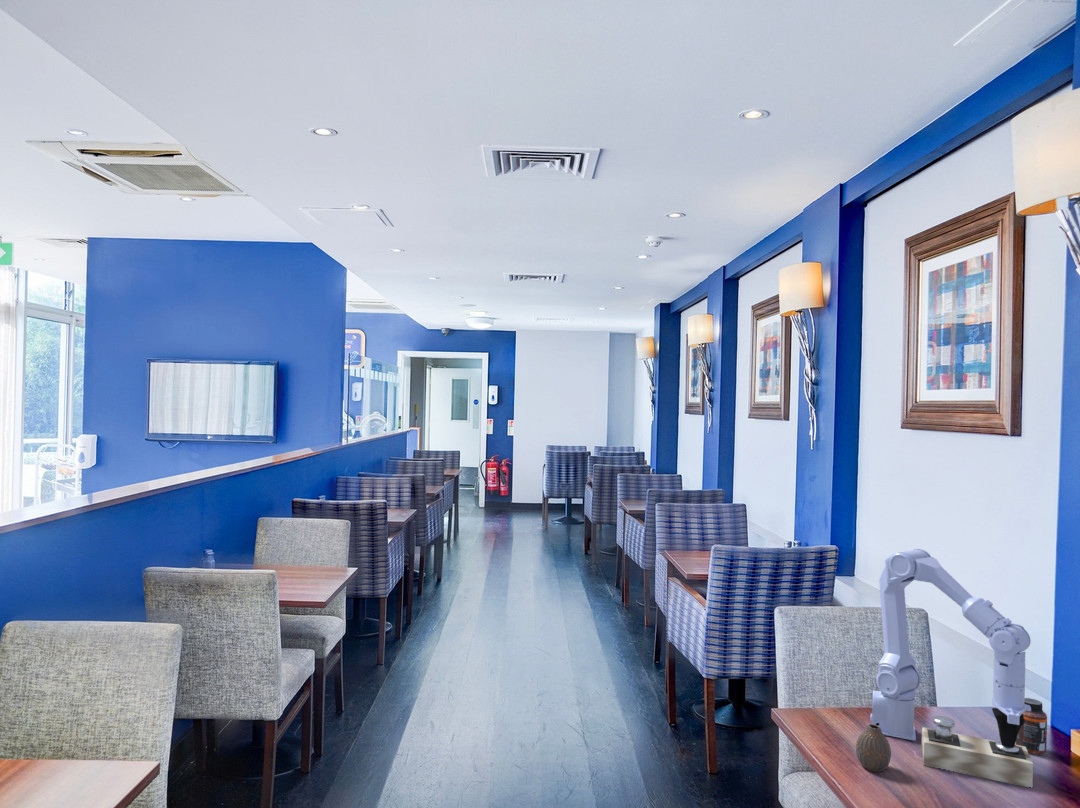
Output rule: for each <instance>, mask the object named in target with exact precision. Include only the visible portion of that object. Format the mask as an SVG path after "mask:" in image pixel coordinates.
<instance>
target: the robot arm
mask: <svg viewBox="0 0 1080 808" xmlns="http://www.w3.org/2000/svg"><path fill="white" fill-rule="evenodd" d="M884 563H885V565H884V568H883V570H882V572H881V574H880V577H879V580H878V583H879V595H880V596H879V598H880V609H881V622H882V634H883V635H882V637H883V648H884V649H883V650H884V654H883V655H882V657H881V659H880V660H879V662H878V671H877V674H876V679H875V680H876V685H877V688H878V690H872V708H871V709H872V710H871V713H870V718H869V720H870V722H871V724H874V725H877V726H879V727H880V728H881V731H882V733H883V734H884V736H888V737H893V738H897V739H903V740H909V741H915V742H916V741H917V736H916V735H917V734H916V727H915V697H916V690H917V689H918V688H920V685H921V674H920V673H919V670H918V669H917V666H916V660H915V658H913V656H912V655H911V653H910V647H909V646H910V644H909V634H908V633H909V632H908V619H907V617H908V616H907V607H906V606H907V605H906V594H905V591H906V590H905V588H906V587H907V586H908V585H910V584H912V582H914V581H917V582H925V583H931V584H932V585H933V586H935V587H936V588H937V589H938V590H940V591H941V592H942V593H943V594H945V595H946V596H947V597H948V598H949V599H951V600H952V601H953V602H955V604H957V605H959V606H960V608H961V610H962V616H963V617H964V618H965V619H966V620H968V622H970V624H972V625H973V626H974V627H975V628H976V629H977V630H978V631H980V633H982V634H983V635H984V636H985V637H986V638H988V642H989V645H990V647H991V648H992V650H993V652H994V654H993V680H992V681H993V682H992V683H993V686H992V688H993V689H992V699H991V705H993V706H994V707H993V708H991V710H992V714H993V716H994V718H995V719H996V723H997V729H998V734H999V739H1000V740H999V741H1001V744H1002V746H1005V747H1011V748H1014V745H1016V738H1017V735H1018V732H1019V730H1020V728H1021V726H1022V725H1023V724H1024V722H1025V719H1024V717H1023V712H1024V711H1031V707H1030V706H1029V705H1026V704H1024V699H1025V698H1026V697H1025V695H1026V694H1025V691H1026V650H1027V649H1028V648H1029V647H1030V646H1031V643H1032V642H1031V641H1032V640H1031V636H1030V634H1029V632H1028V631H1027V630H1026V629H1025V628H1024V626H1023V625H1021V624H1018V623H1012V620H1011V619H1010V618H1008V617H1007V618H1006V617H1005V616H1003V614H1001V612H999V611H998V610H996V609H995V608H994V606H993V603H992V601H990V600H989V599H988V600H985V599H984V598H983V597H974V596H973V595H972V594H971V593H969V592H968V591H967V590H966V589H965V588H964V586H963V585H961V584H960V583H959V582H958V581H957V580H956V579H955V578H954V577H953V576H952V575H951V574H950V573H949V572H948V571H947V570H946V569H945V568H944V567H943V566H942V565H941V563H940V562H939V560H938V559H937V558H936V557H933V556H931V554H930V553H929V552H928V551H926V550H924V549H921V548H916V549H915V548H914V549H912V550H905V551H896V552H893V553H892V554H891V555H889V556H888V557H887V558H886V559H885V560H884Z"/></svg>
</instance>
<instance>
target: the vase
mask: <svg viewBox="0 0 1080 808" xmlns="http://www.w3.org/2000/svg"><path fill="white" fill-rule="evenodd" d="M855 744H856V745H855V753H856V757H857V760H858V761H859V763H860V765H861V766H862V767H863V766H864V767H863V768H865V769H866V768H867V770H868V769H869V770H868V771H871V770H872V772H883V771H884V770H886V769H887V768H888V767H889V764H890V763H891V759H892V750H891V745H890V743H889V740H888V738H887V737H886V735H884V734H883V733H882V731H881V728H880V727H879V726H877V725H874V724H872V723H871V724H868V725H867V726H866V728H865V729H864V730H863V731H862V732H861V733H860V734H859V735H858V737H857V740H856V743H855Z"/></svg>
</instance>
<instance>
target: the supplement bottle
mask: <svg viewBox="0 0 1080 808" xmlns="http://www.w3.org/2000/svg"><path fill="white" fill-rule="evenodd" d="M1024 704H1026V705H1029V706H1030V707H1031V711H1024V712H1023V717H1024V719H1025V722H1024V724H1023V725H1022V726H1021V728H1020V730H1019V732H1018V735H1017V738H1016V742H1015V745H1019V746H1025V747H1026V749H1027V751H1028V753H1029V754H1030V753H1031V755H1036V754H1038V756H1039V755H1040V756H1041V754H1042V755H1045V754H1046V753H1047V739H1048V738H1047V734H1048V733H1047V732H1048V726H1047V725H1048V716H1047V713H1046V712H1045V711H1044V710H1043V702H1042V701H1040V700H1038V699H1035V698H1030V697H1025V699H1024Z"/></svg>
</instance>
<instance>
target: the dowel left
mask: <svg viewBox="0 0 1080 808" xmlns="http://www.w3.org/2000/svg"><path fill="white" fill-rule="evenodd" d="M932 719H933V721H932V722H933V723H934V724H935V730H936V739H940V740H946V741H951V733H953V732H952V730H953V729H952V728H955V726H956V722H955V720H954V719H953V718H950V717H948V716H943V715H934V716H933V717H932Z"/></svg>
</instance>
